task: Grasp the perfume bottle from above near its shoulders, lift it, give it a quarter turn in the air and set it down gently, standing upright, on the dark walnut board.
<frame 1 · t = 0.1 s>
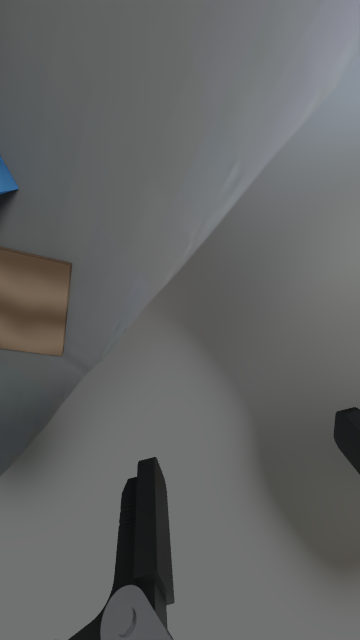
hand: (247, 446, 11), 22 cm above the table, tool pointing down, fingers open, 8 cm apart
walnut board: (7, 301, 28), on the table
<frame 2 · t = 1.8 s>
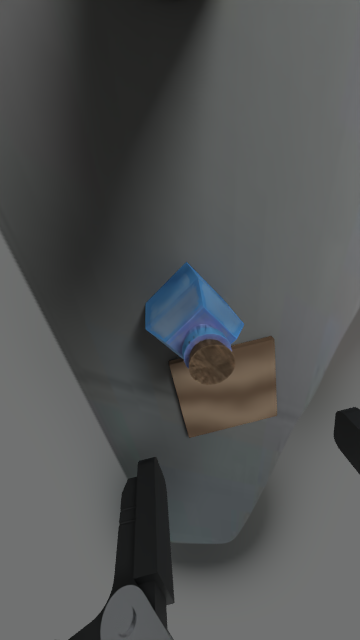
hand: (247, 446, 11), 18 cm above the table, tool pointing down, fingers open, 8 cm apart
perfume bottle: (185, 301, 27), on the table
walnut board: (226, 388, 33), on the table
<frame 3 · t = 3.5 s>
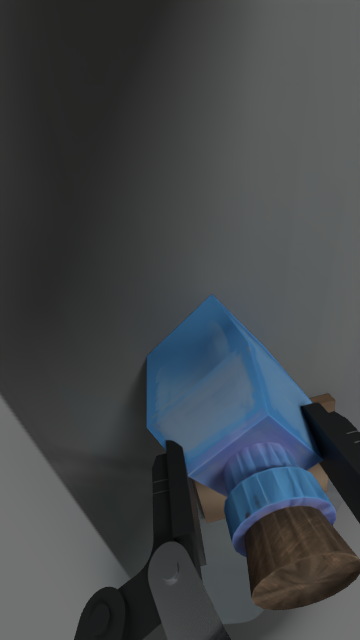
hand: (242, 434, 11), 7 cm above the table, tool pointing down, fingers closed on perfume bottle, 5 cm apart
perfume bottle: (207, 350, 18), on the table, touching gripper
walnut board: (259, 460, 23), on the table
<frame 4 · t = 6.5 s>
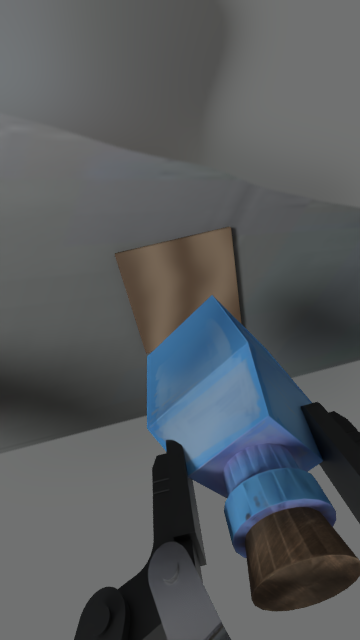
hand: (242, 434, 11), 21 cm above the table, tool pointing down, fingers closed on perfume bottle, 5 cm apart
perfume bottle: (207, 351, 18), point 13 cm above the table, touching gripper
walnut board: (183, 293, 30), on the table
when the fingers open (9 cm above the table, at t = 9.4 s): perfume bottle drops 2 cm, resting on walnut board.
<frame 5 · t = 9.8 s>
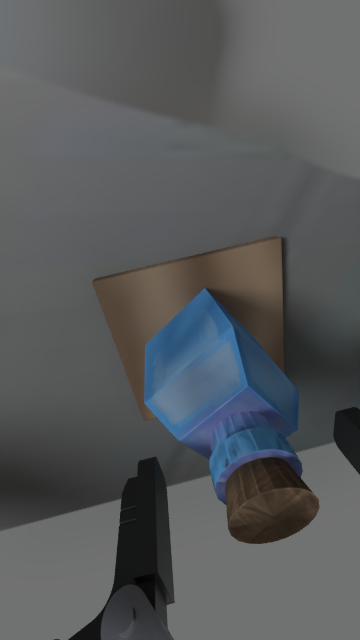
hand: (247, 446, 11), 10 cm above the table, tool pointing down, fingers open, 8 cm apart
perfume bottle: (201, 340, 19), point 1 cm above the table, touching walnut board
walnut board: (201, 336, 20), on the table
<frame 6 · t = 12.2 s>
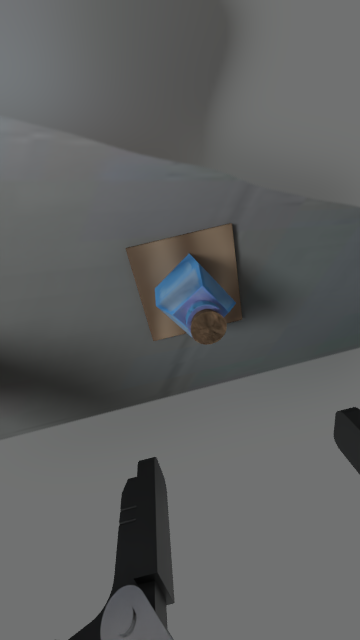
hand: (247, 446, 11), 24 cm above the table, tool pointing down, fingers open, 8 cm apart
perfume bottle: (188, 287, 32), point 1 cm above the table, touching walnut board
walnut board: (188, 285, 32), on the table
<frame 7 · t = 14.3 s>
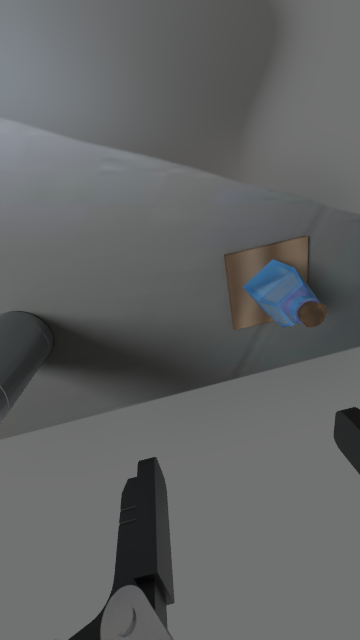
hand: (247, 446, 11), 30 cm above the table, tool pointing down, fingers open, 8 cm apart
perfume bottle: (267, 286, 40), point 1 cm above the table, touching walnut board
walnut board: (266, 285, 40), on the table
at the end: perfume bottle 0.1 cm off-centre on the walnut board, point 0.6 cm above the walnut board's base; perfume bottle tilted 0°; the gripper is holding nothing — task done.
